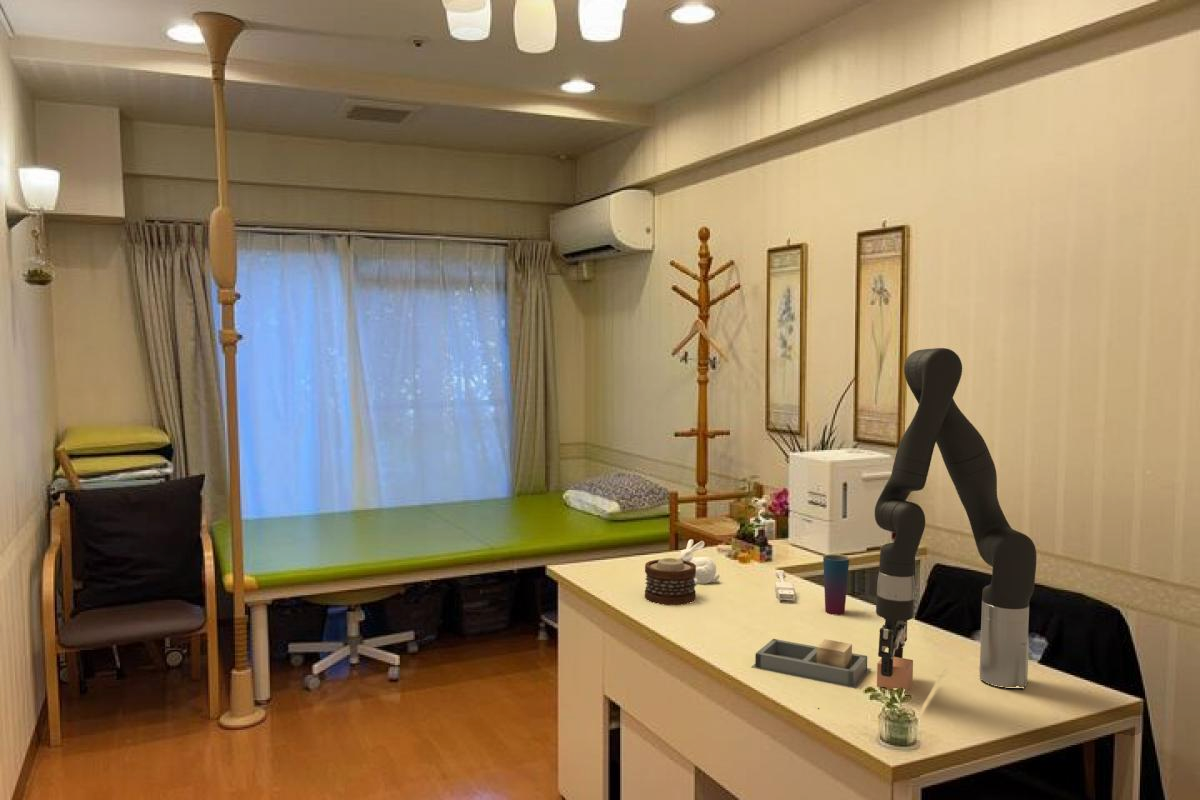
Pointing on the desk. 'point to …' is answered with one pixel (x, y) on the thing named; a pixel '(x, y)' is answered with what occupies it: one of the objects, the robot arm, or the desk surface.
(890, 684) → the terracotta cube
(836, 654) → the oak cube
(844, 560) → the cup
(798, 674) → the pocket tray
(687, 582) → the spiked roller
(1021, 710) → the desk surface
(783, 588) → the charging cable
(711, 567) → the rabbit
